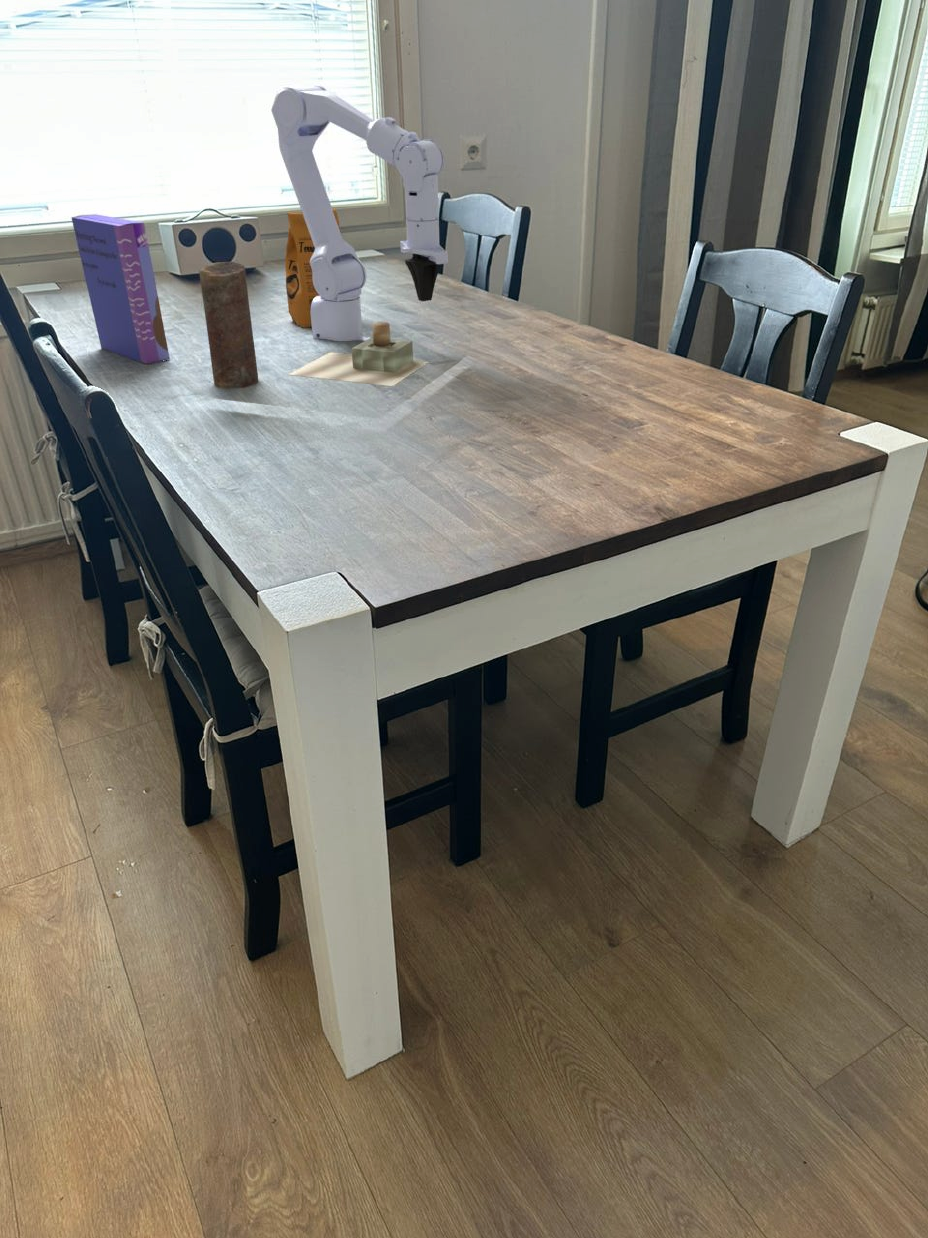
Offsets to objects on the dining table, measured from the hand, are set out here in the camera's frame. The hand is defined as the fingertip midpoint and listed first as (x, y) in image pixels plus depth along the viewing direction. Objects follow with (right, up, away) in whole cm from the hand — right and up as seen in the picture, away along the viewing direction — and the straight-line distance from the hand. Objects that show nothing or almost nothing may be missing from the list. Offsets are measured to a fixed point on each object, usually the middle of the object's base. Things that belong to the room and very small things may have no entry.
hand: (425, 300), depth 159 cm
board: (-11, -16, -5) cm, 20 cm away
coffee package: (-24, +6, +30) cm, 39 cm away
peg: (-7, -13, -4) cm, 16 cm away
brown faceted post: (-31, -20, -11) cm, 39 cm away
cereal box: (-57, -7, +9) cm, 58 cm away
